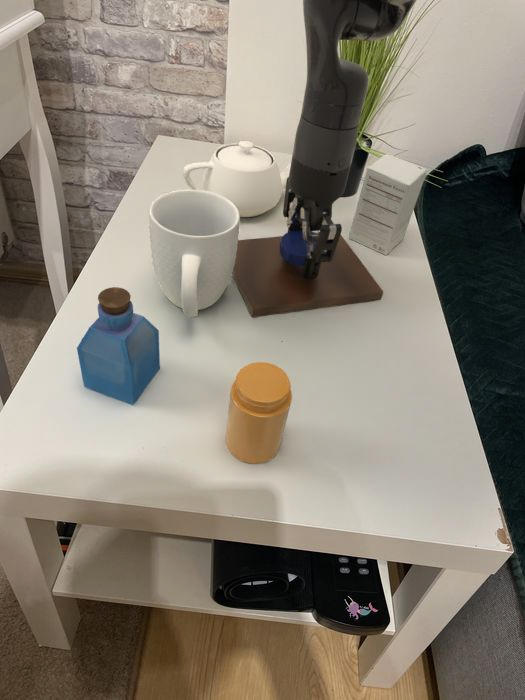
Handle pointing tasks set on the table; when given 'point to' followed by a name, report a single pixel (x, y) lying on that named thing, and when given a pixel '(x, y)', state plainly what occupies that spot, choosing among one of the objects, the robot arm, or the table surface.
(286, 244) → the jar lid
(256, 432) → the jar
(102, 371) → the perfume bottle
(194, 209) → the mug
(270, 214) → the table surface
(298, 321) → the table surface
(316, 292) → the board
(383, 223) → the white packaging box
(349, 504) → the table surface
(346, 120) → the robot arm
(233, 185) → the teapot
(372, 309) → the table surface
